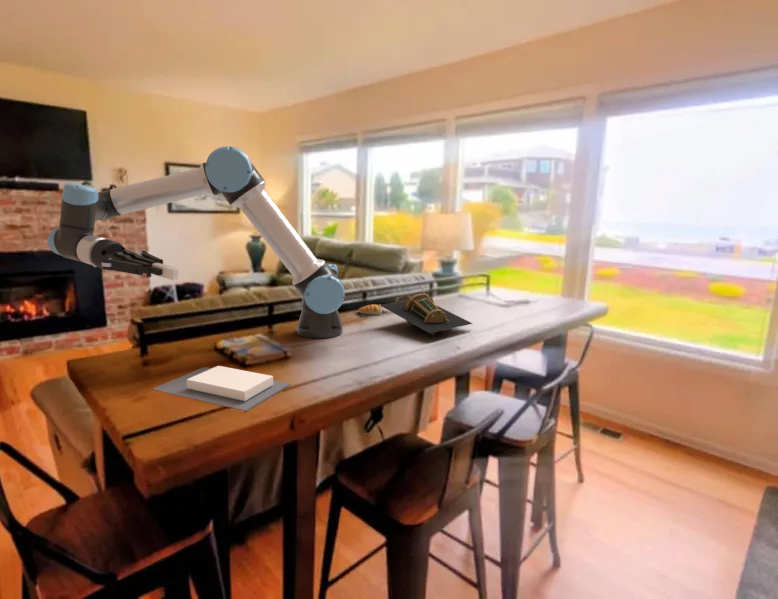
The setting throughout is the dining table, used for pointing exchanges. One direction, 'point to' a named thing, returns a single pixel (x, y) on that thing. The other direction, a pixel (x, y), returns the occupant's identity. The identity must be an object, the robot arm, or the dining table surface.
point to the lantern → (425, 313)
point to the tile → (230, 383)
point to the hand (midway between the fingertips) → (175, 274)
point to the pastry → (371, 309)
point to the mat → (181, 389)
